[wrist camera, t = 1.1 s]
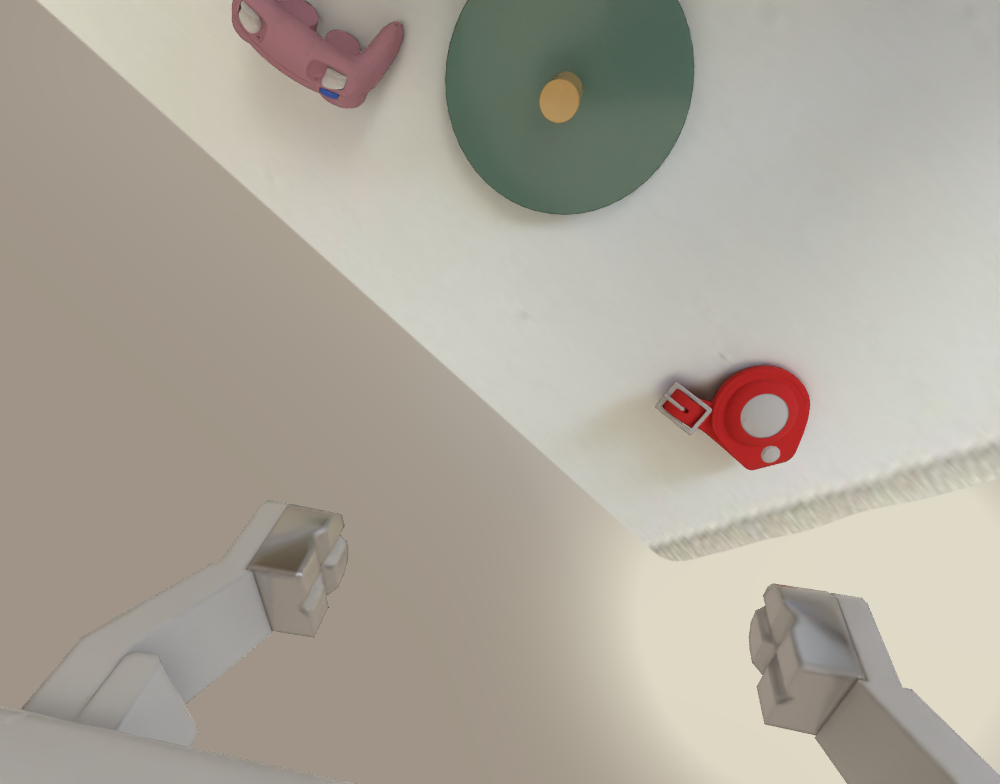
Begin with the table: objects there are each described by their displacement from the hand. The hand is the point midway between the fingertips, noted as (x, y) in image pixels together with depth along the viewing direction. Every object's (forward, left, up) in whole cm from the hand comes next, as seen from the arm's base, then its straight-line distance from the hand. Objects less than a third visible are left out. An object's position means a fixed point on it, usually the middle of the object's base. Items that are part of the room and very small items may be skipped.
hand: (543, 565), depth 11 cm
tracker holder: (+12, +21, -37) cm, 44 cm away
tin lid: (-2, -4, -36) cm, 36 cm away
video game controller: (+2, -20, -37) cm, 42 cm away
